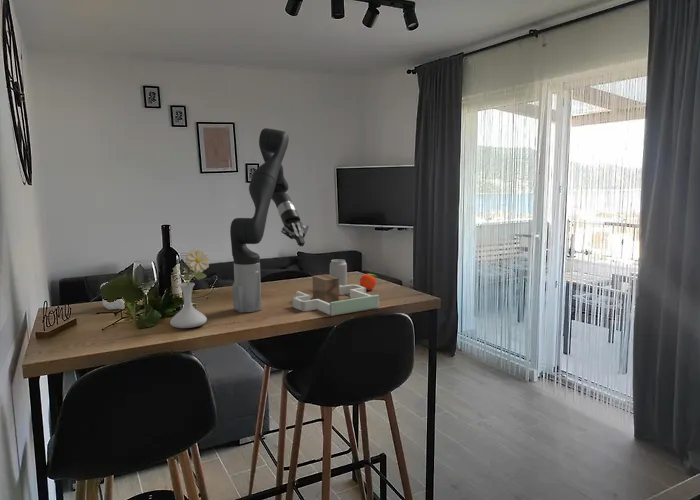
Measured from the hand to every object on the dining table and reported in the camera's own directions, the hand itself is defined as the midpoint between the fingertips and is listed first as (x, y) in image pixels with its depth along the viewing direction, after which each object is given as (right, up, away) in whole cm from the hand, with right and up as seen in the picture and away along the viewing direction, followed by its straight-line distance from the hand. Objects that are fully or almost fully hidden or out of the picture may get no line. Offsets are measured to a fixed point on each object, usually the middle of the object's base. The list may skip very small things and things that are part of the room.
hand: (302, 245), depth 210 cm
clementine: (+28, -19, +4) cm, 34 cm away
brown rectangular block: (+10, -22, -13) cm, 27 cm away
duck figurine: (-67, -24, -25) cm, 76 cm away
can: (+15, -18, +9) cm, 26 cm away
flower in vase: (-31, -27, -47) cm, 63 cm away
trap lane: (+15, -22, -20) cm, 33 cm away
